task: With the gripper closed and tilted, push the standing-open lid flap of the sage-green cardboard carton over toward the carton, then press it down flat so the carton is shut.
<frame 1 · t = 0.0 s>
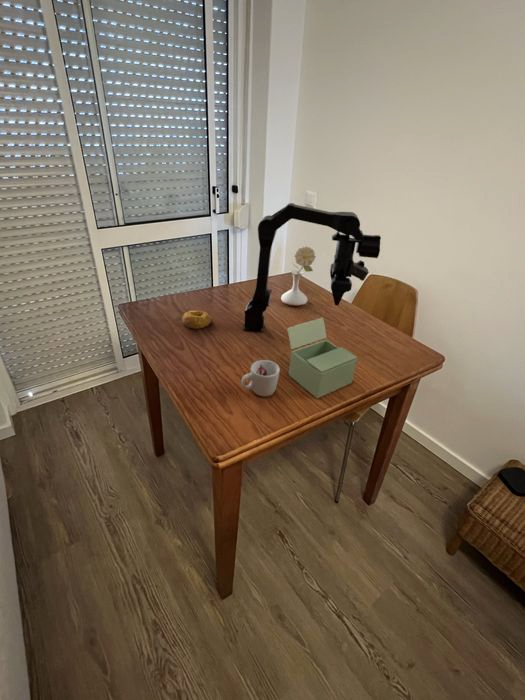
hand: (336, 299, 121), 15 cm above the table, tool pointing down, fingers open, 9 cm apart
cup: (259, 392, 99), on the table
flap: (307, 333, 105), point 12 cm above the table, hinge at 115.0°
carton: (319, 378, 106), on the table
bagel: (197, 323, 132), on the table
flower in vase: (295, 303, 152), on the table
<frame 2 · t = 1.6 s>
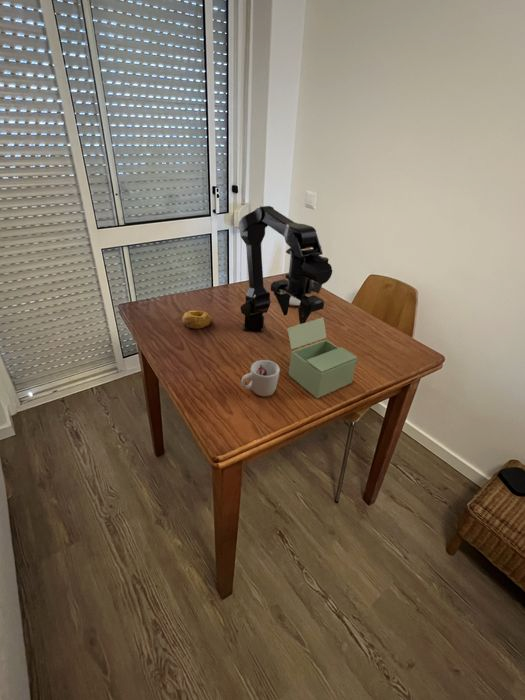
hand: (293, 320, 109), 13 cm above the table, tool pointing down, fingers open, 8 cm apart
nothing on the table moved.
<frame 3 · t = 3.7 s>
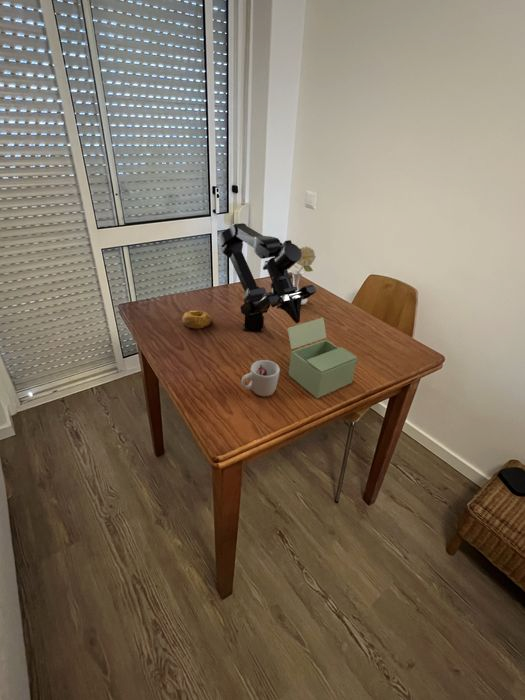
hand: (297, 322, 107), 13 cm above the table, tool tilted 45°, fingers closed
nothing on the table moved.
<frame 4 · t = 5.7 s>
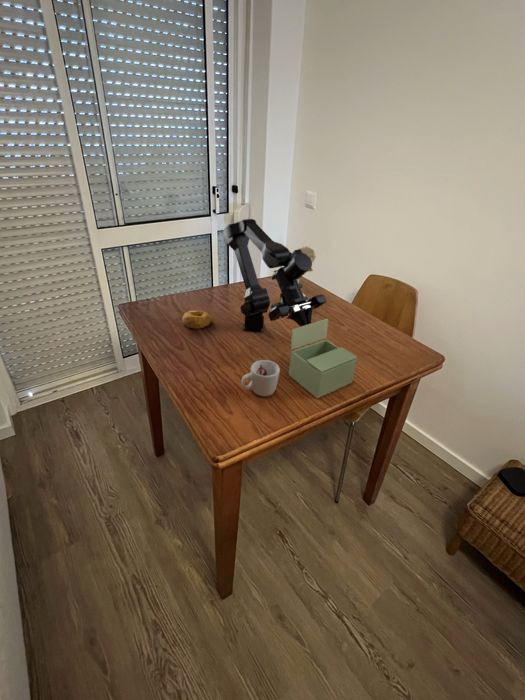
hand: (308, 333, 104), 12 cm above the table, tool tilted 45°, fingers closed, pressing on flap
flap: (310, 333, 104), point 12 cm above the table, hinge at 95.4°, touching gripper
everything else where it was.
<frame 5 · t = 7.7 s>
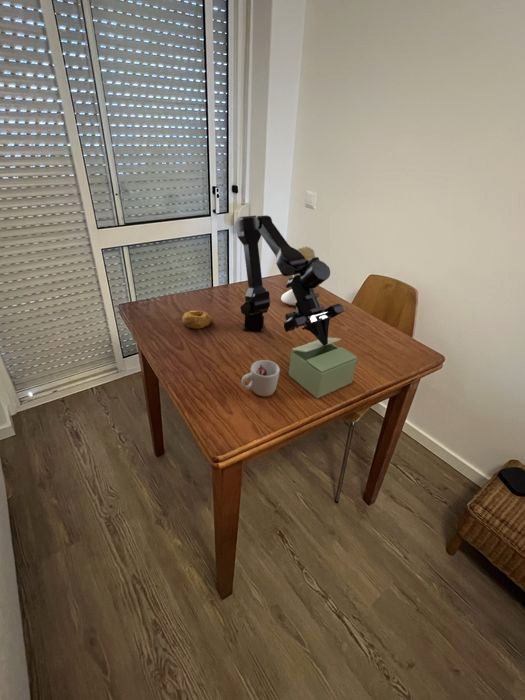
hand: (325, 344, 100), 12 cm above the table, tool tilted 45°, fingers closed
flap: (316, 344, 103), point 10 cm above the table, hinge at 23.3°, touching gripper
everything else where it was.
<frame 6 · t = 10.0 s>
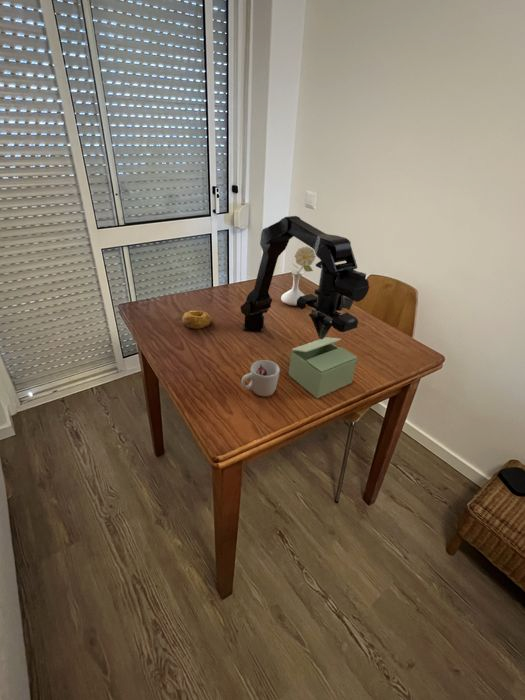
hand: (321, 338, 100), 13 cm above the table, tool pointing down, fingers closed
flap: (316, 344, 103), point 10 cm above the table, hinge at 22.9°
everything else where it was.
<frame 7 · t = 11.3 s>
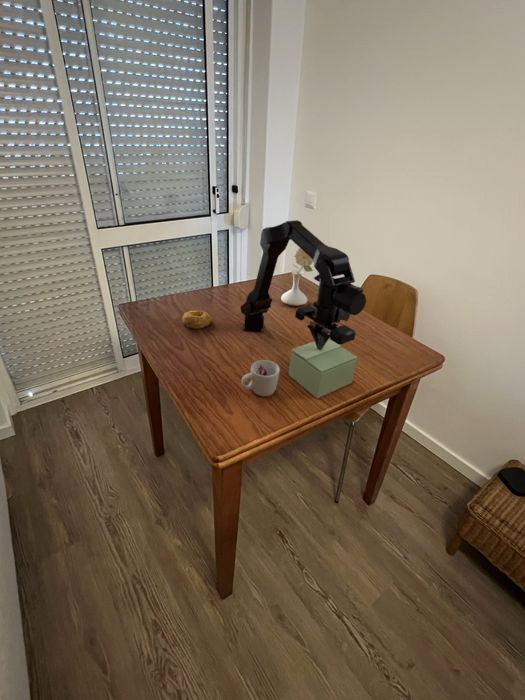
hand: (319, 349, 102), 9 cm above the table, tool pointing down, fingers closed, pressing on flap
flap: (316, 348, 103), point 9 cm above the table, hinge at 2.2°, touching gripper
everything else where it was.
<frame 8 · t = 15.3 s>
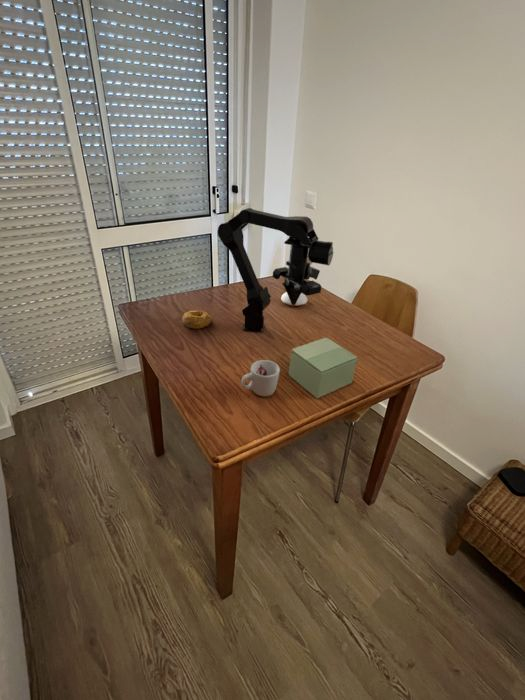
hand: (293, 304, 119), 13 cm above the table, tool pointing down, fingers closed
flap: (316, 348, 103), point 9 cm above the table, hinge at -0.2°
everything else where it was.
at the end: flap at +0° (first picture: +115°); cup moved 0.2 cm from its start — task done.
